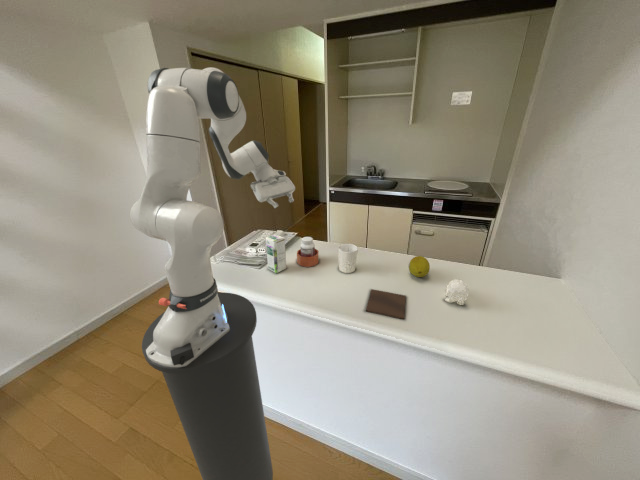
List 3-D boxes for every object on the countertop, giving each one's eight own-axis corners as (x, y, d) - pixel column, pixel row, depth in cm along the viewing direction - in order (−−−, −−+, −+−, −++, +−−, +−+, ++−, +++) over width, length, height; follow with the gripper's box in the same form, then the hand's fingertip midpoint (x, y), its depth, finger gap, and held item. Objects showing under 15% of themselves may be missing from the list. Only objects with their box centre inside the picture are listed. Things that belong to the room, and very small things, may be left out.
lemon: (409, 267, 109) (412, 250, 105) (429, 271, 105) (432, 254, 102) (404, 279, 100) (407, 261, 97) (425, 285, 97) (429, 266, 93)
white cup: (333, 268, 108) (334, 247, 104) (347, 262, 113) (348, 241, 108) (346, 276, 103) (347, 254, 98) (360, 269, 107) (361, 248, 103)
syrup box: (267, 269, 108) (264, 237, 102) (278, 263, 112) (275, 233, 106) (276, 273, 104) (273, 241, 98) (287, 268, 109) (285, 236, 102)
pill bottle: (308, 256, 118) (308, 234, 113) (317, 261, 114) (317, 238, 109) (298, 261, 114) (297, 238, 109) (307, 266, 110) (306, 243, 105)
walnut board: (404, 319, 80) (404, 318, 80) (365, 311, 83) (365, 309, 83) (405, 296, 90) (405, 295, 90) (371, 290, 94) (371, 289, 93)
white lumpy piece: (449, 283, 82) (447, 268, 93) (444, 305, 85) (442, 288, 96) (471, 287, 80) (466, 271, 91) (465, 310, 83) (461, 292, 94)
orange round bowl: (314, 268, 108) (314, 258, 106) (293, 264, 111) (293, 255, 109) (321, 258, 116) (321, 249, 114) (301, 254, 119) (301, 246, 117)
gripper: (251, 178, 103) (269, 206, 101) (287, 171, 117) (303, 195, 116) (245, 187, 107) (263, 214, 105) (281, 179, 121) (297, 203, 120)
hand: (284, 204), depth 111 cm, fingers open, 8 cm apart
